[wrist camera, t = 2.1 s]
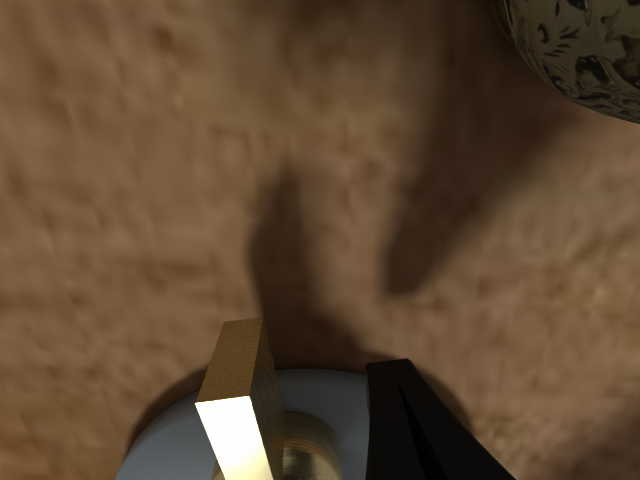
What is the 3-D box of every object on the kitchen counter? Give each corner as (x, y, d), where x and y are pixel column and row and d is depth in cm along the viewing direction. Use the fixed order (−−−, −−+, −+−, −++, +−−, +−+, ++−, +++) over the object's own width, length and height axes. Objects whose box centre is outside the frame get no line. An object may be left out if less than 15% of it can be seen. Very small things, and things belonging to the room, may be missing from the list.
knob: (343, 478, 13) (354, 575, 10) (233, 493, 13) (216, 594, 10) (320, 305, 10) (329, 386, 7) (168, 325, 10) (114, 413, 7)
